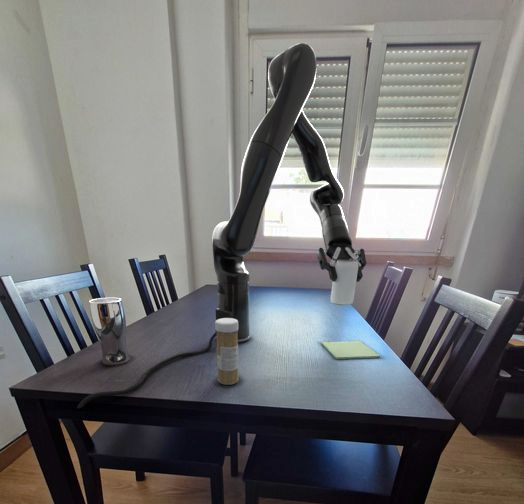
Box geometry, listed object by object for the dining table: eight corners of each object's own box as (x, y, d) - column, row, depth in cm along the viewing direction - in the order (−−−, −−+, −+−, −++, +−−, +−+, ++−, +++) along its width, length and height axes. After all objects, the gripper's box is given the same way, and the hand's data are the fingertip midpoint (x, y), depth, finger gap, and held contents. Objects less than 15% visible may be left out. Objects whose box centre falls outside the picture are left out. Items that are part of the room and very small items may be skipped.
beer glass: (96, 360, 69) (83, 299, 64) (125, 353, 74) (115, 296, 69) (107, 368, 65) (94, 304, 60) (136, 360, 70) (127, 300, 64)
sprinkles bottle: (219, 376, 62) (217, 317, 58) (240, 376, 62) (239, 317, 58) (216, 385, 58) (213, 323, 53) (238, 386, 58) (237, 323, 53)
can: (329, 304, 80) (334, 260, 76) (330, 300, 86) (335, 259, 82) (353, 306, 78) (359, 261, 74) (352, 301, 84) (359, 260, 80)
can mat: (336, 359, 73) (336, 357, 73) (321, 343, 84) (321, 341, 84) (379, 357, 74) (380, 355, 74) (359, 342, 85) (359, 340, 85)
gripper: (316, 224, 80) (326, 270, 74) (363, 225, 82) (377, 271, 76) (309, 243, 87) (318, 288, 81) (353, 244, 89) (365, 288, 83)
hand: (347, 279), depth 78 cm, fingers closed on can, 6 cm apart
